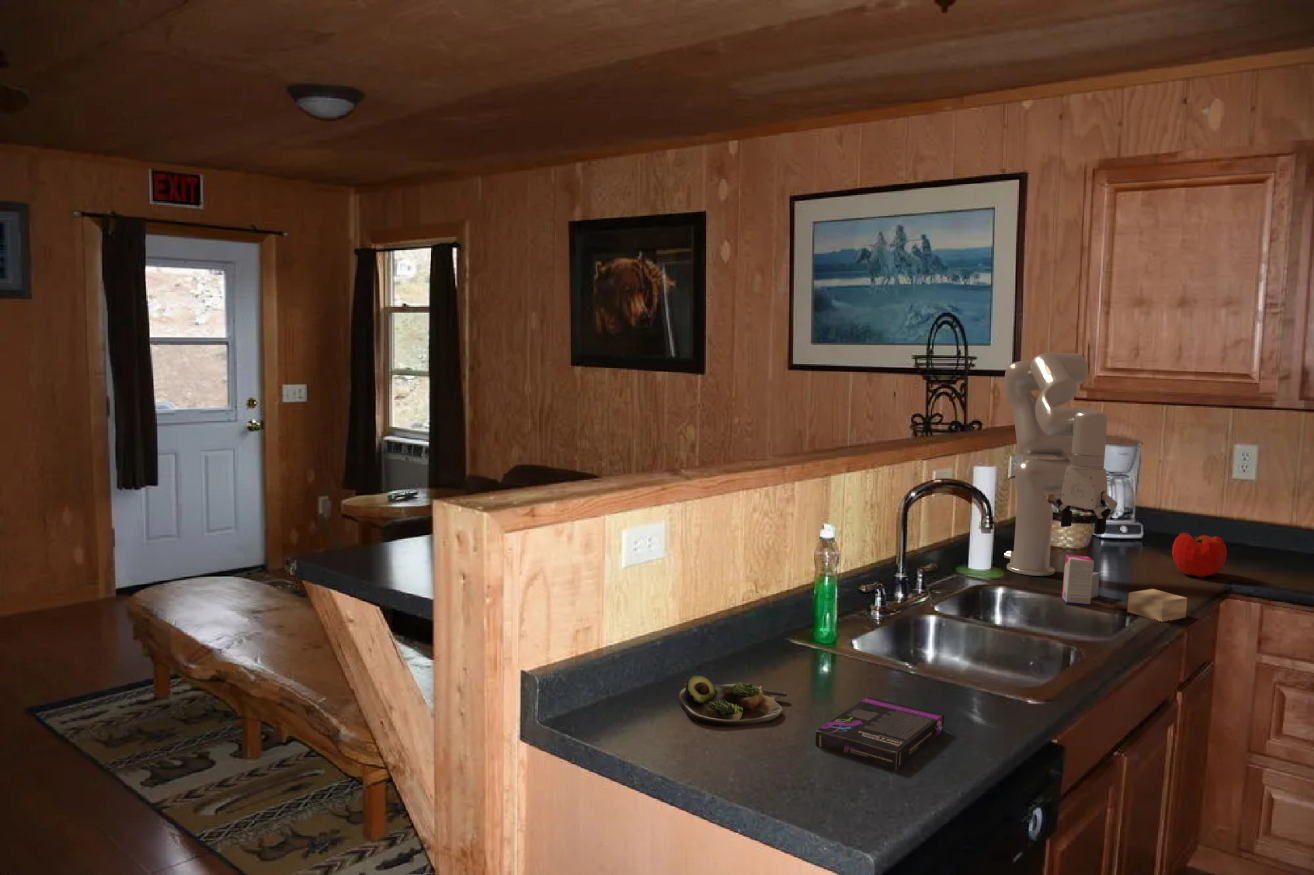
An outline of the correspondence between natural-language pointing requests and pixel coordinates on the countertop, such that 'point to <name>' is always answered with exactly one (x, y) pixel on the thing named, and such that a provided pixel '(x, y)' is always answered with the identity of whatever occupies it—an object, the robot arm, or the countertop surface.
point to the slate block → (1095, 584)
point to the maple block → (1157, 605)
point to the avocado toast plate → (727, 702)
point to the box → (880, 732)
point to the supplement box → (1077, 580)
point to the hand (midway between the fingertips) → (1082, 530)
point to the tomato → (1199, 554)
